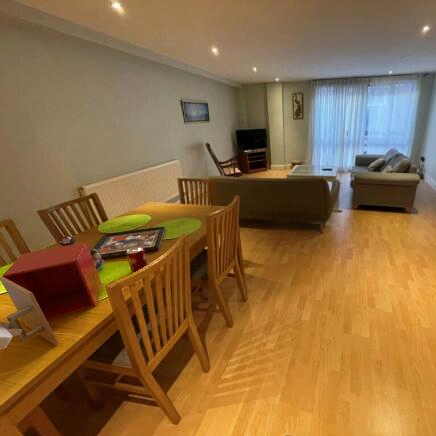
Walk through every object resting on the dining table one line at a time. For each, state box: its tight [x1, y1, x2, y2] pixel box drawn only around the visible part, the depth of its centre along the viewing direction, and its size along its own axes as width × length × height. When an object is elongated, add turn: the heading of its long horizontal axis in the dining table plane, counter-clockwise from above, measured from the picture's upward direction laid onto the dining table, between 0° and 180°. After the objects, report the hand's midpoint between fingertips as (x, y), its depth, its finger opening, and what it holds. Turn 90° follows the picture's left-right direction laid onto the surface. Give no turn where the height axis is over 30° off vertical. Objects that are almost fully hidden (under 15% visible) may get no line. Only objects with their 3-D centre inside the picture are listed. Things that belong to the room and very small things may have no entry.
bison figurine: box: [89, 247, 105, 273], centre depth 116 cm, size 12×7×10 cm, turn 14°
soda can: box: [125, 247, 149, 274], centre depth 116 cm, size 7×7×12 cm
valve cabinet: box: [1, 241, 103, 321], centre depth 94 cm, size 16×20×22 cm
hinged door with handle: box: [0, 276, 60, 347], centre depth 77 cm, size 6×20×21 cm, turn 66°
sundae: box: [58, 233, 77, 247], centre depth 127 cm, size 7×7×15 cm
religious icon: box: [92, 226, 166, 259], centre depth 144 cm, size 38×35×3 cm
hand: (18, 329), depth 72 cm, fingers closed on hinged door with handle, 2 cm apart
